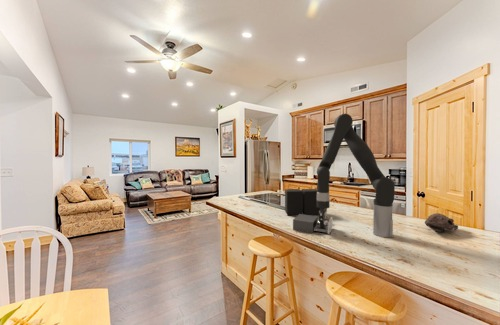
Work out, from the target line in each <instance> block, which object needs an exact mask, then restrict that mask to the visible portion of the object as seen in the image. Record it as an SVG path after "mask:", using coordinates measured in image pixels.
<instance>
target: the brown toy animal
mask: <svg viewBox="0 0 500 325" xmlns="http://www.w3.org/2000/svg"><path fill="white" fill-rule="evenodd" d="M454 221H455V220H454V219H453V218H449V217H448V216H446V215H445V214H443V213H439V212H438V213H437V212H436V213H433V214H430V215H429V216H428V217H427V218H426V220H425V221H424V224H425V226H426V227H428V228H430V229H431V230H433V231H435V232H438V233H442V232H444V230H450V231H451V230H453V231H455V232H456V231H457V230H458V229H459V225H458V224H455V223H454Z"/></svg>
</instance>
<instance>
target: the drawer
mask: <svg viewBox="0 0 500 325" xmlns="http://www.w3.org/2000/svg"><path fill="white" fill-rule="evenodd" d="M332 229H333V216H330V217H329V222H328V226H326V227H324V229H321V228H320V226H319V225H318V223H317V224H316V226H315V227H314V232H320V233H321V232H322V233H327V234H328V235H330V233H331V232H332Z"/></svg>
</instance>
